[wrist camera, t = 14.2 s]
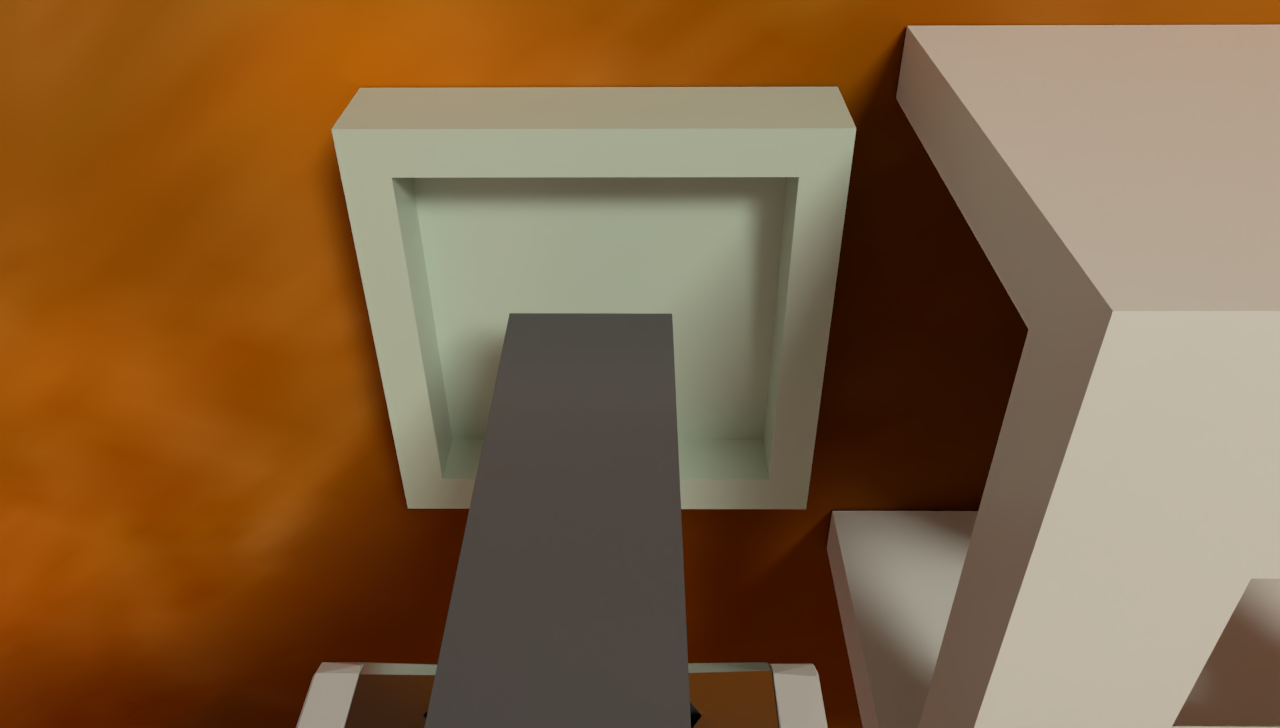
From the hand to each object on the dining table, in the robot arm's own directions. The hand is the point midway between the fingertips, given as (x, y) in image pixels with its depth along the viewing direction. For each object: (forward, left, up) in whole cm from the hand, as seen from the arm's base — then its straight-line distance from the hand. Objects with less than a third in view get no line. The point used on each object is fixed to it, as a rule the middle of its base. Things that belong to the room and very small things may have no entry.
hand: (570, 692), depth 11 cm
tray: (0, 0, -9) cm, 9 cm away
